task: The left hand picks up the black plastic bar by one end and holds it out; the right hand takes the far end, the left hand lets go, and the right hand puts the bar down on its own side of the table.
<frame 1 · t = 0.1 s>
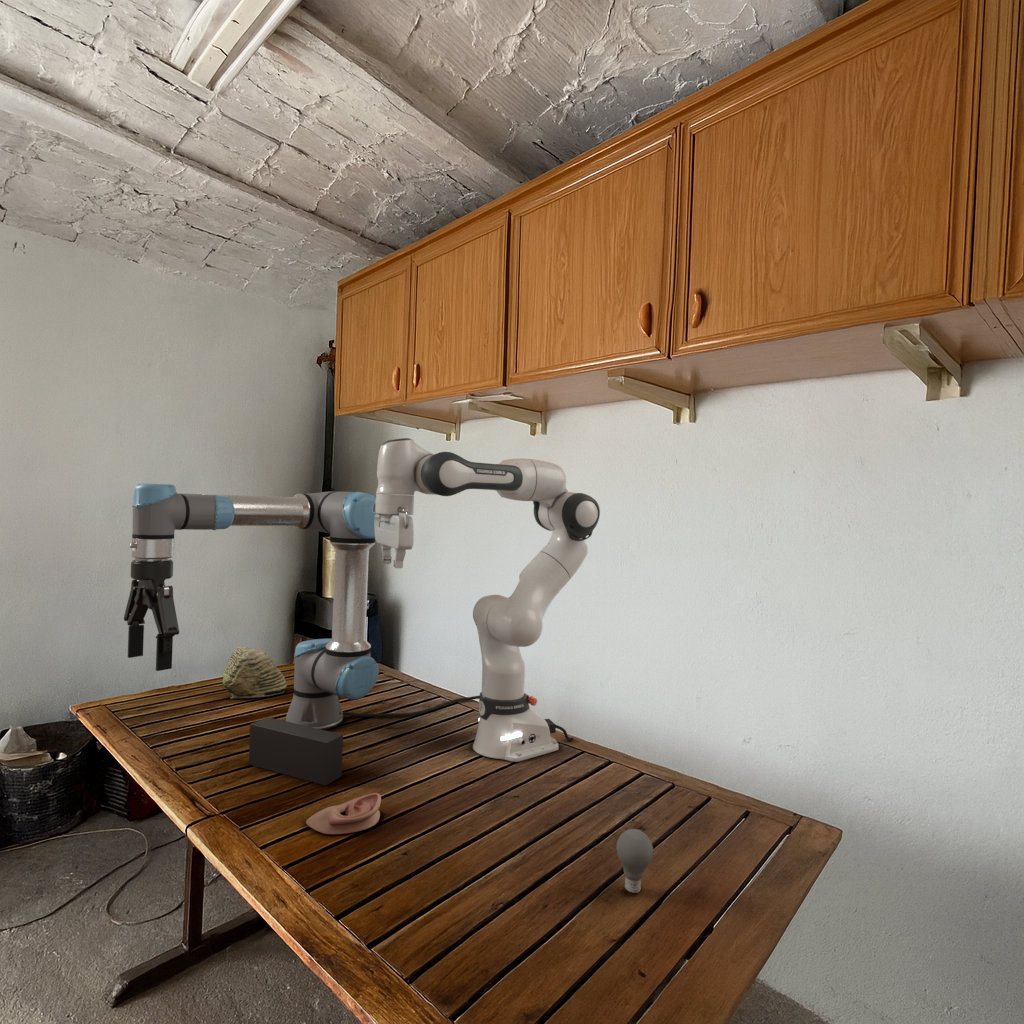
left hand: (149, 663, 129), 28 cm above the table, tool pointing down, fingers open, 13 cm apart
right hand: (392, 565, 149), 48 cm above the table, tool pointing down, fingers open, 8 cm apart
light bulb: (632, 891, 106), on the table
anatomical model: (344, 821, 124), on the table
fossil: (254, 694, 198), on the table
bar: (294, 770, 146), on the table
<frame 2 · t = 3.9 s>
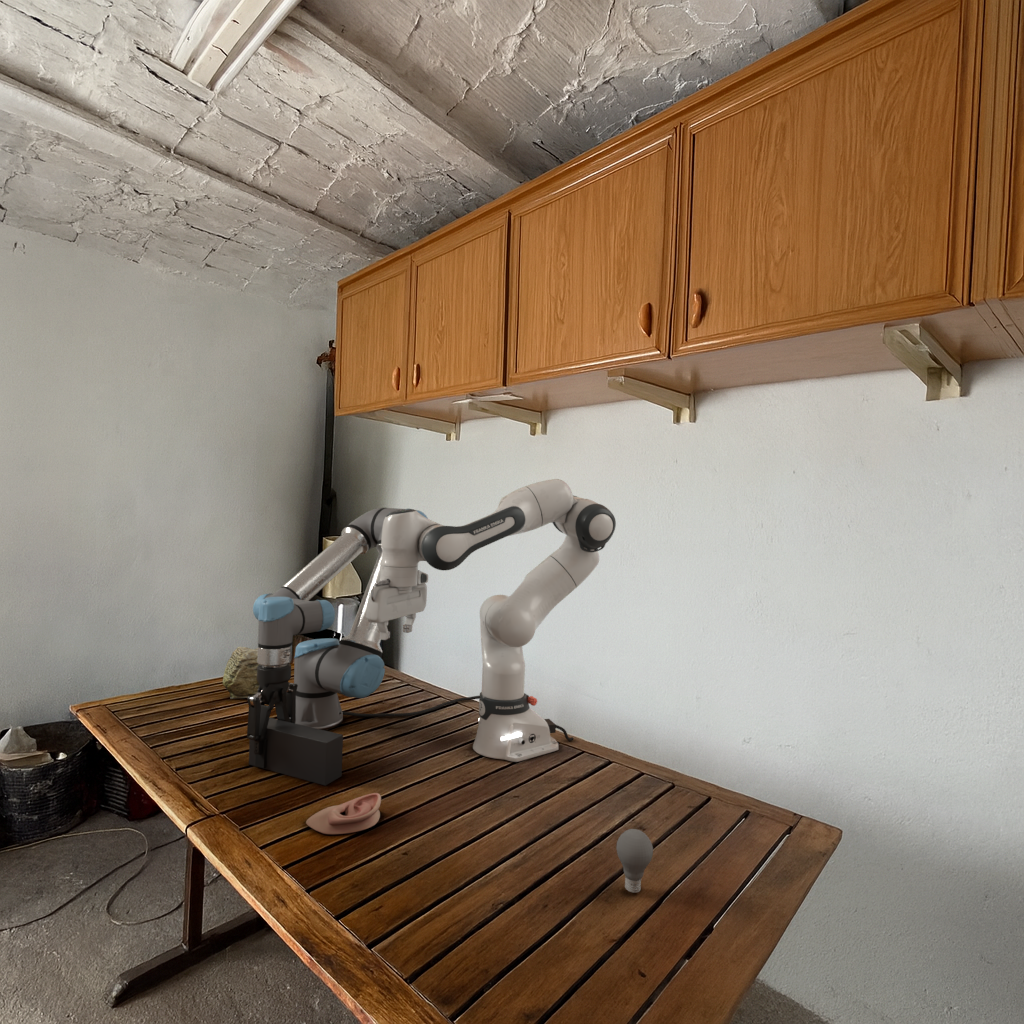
left hand: (270, 761, 149), 1 cm above the table, tool pointing down, fingers closed on bar, 5 cm apart
right hand: (396, 635, 150), 31 cm above the table, tool pointing down, fingers open, 8 cm apart
bar: (294, 770, 146), on the table, touching left hand
everything else where it was.
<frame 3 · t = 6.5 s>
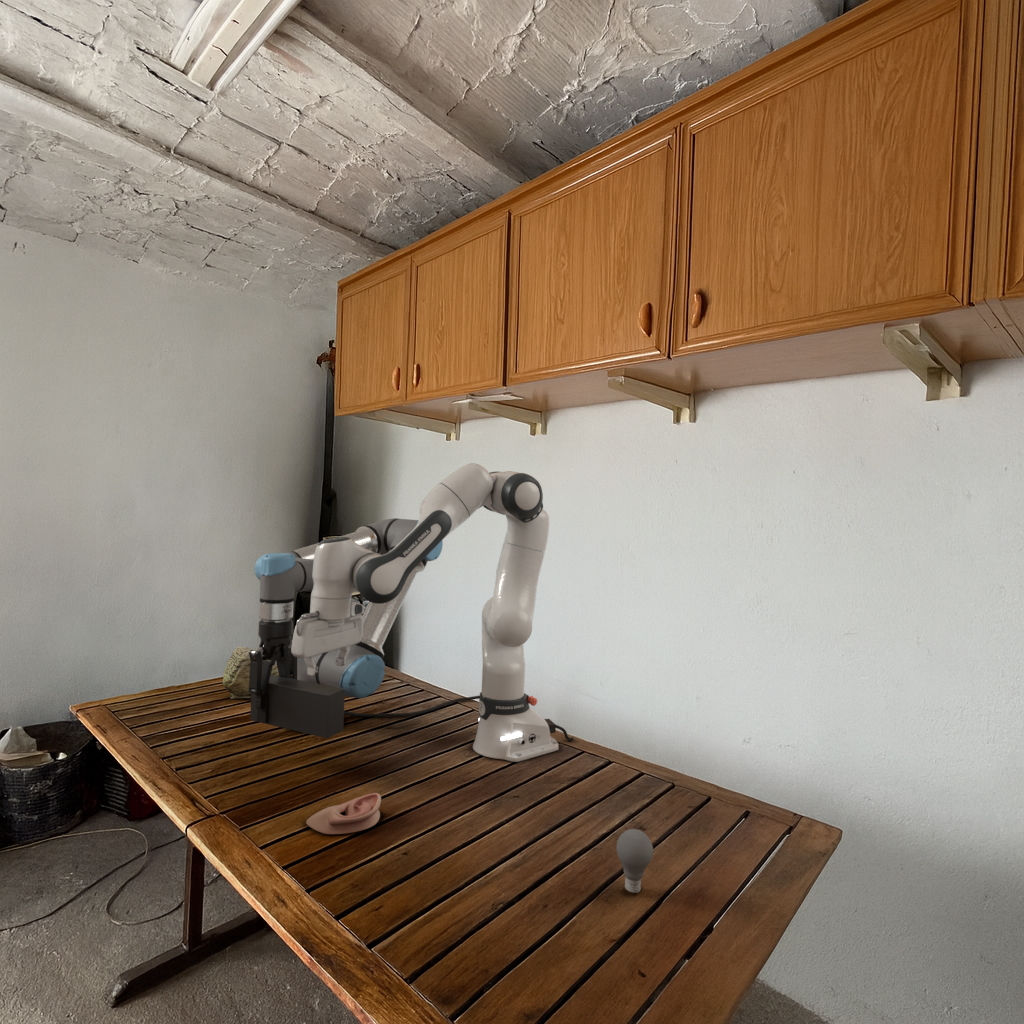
left hand: (272, 717, 149), 11 cm above the table, tool pointing down, fingers closed on bar, 5 cm apart
right hand: (326, 669, 143), 24 cm above the table, tool pointing down, fingers open, 8 cm apart
bar: (296, 725, 146), point 10 cm above the table, touching left hand
everything else where it was.
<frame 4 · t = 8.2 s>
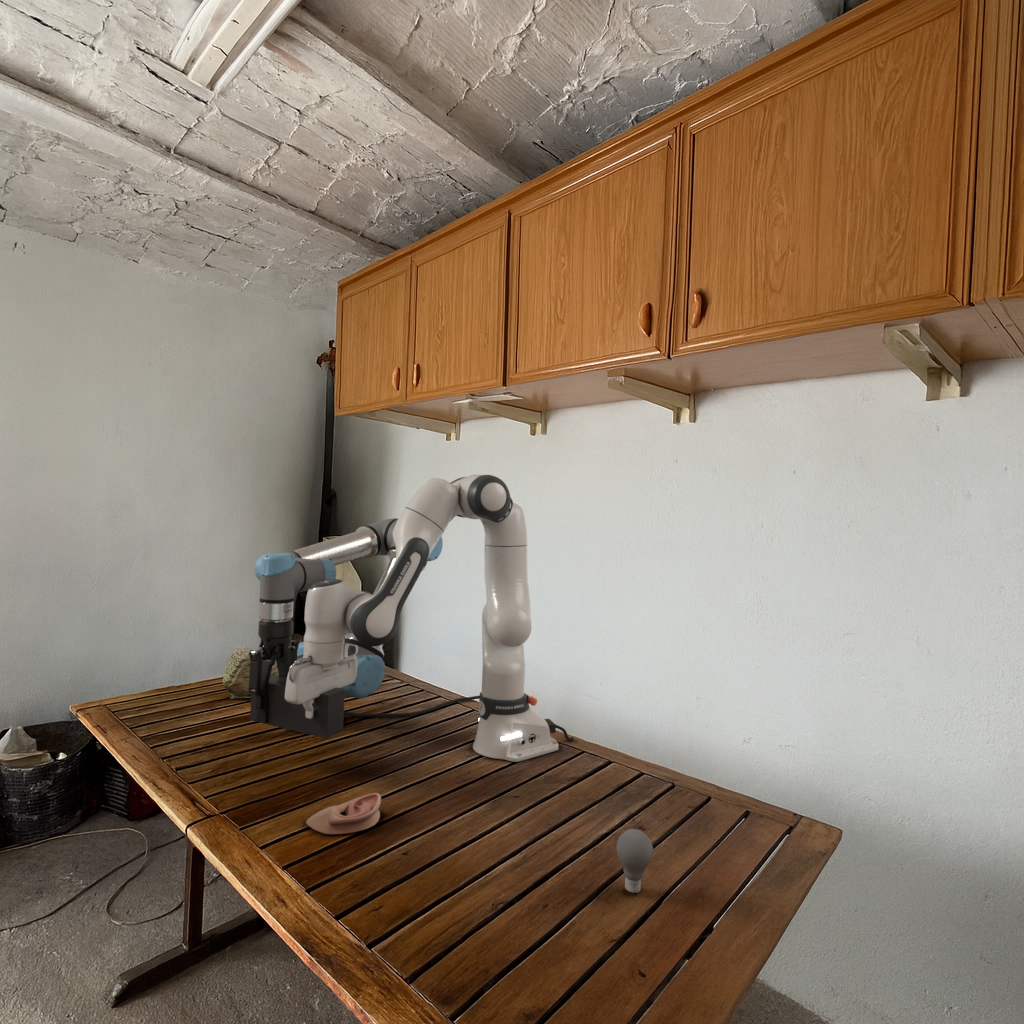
left hand: (272, 717, 149), 11 cm above the table, tool pointing down, fingers closed on bar, 5 cm apart
right hand: (321, 712, 143), 15 cm above the table, tool pointing down, fingers closed on bar, 5 cm apart
bar: (295, 725, 146), point 10 cm above the table, touching left hand, right hand
everything else where it was.
when the left hand's fingers open (11 cm above the table, at t = 9.2 s): bar stays where it is, held by the right hand.
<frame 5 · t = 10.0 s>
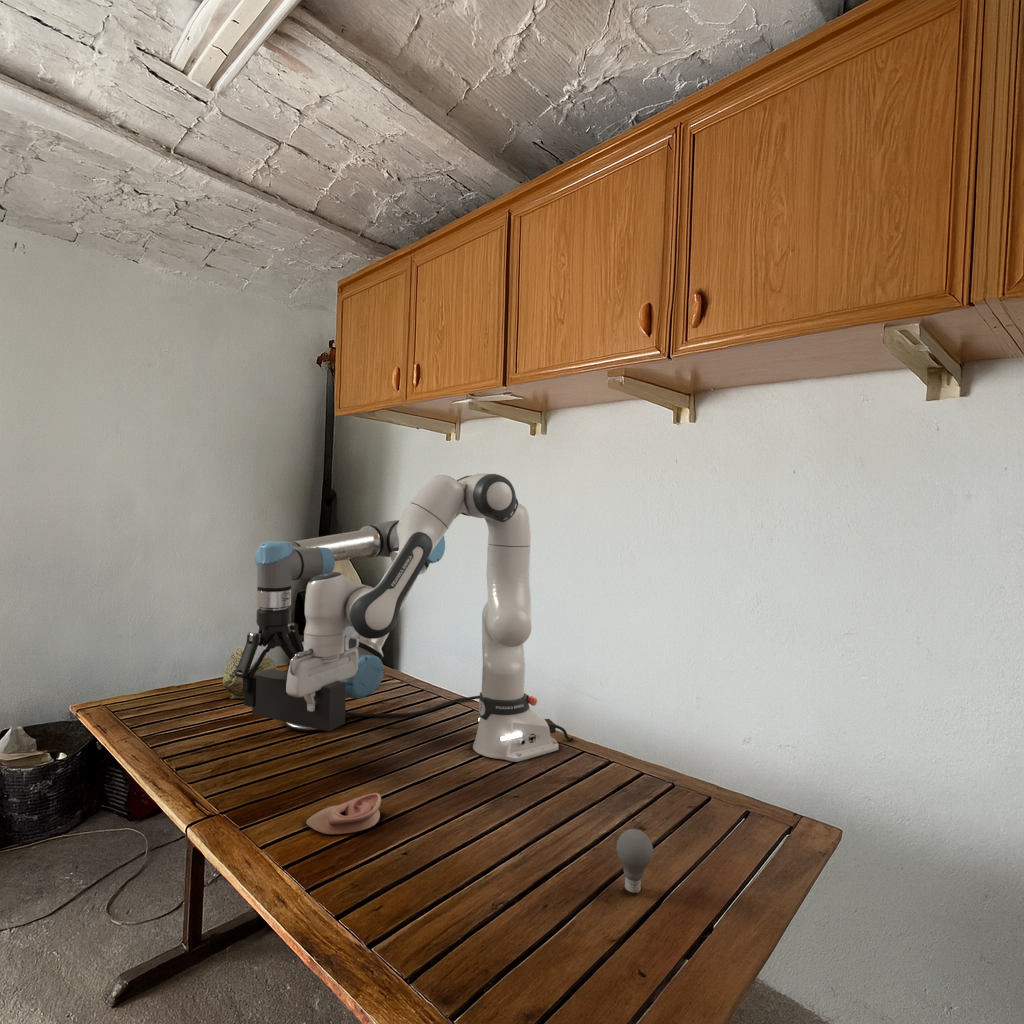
left hand: (272, 697, 149), 16 cm above the table, tool pointing down, fingers open, 13 cm apart
right hand: (323, 705, 143), 16 cm above the table, tool pointing down, fingers closed on bar, 5 cm apart
bar: (297, 719, 146), point 12 cm above the table, touching right hand
everything else where it was.
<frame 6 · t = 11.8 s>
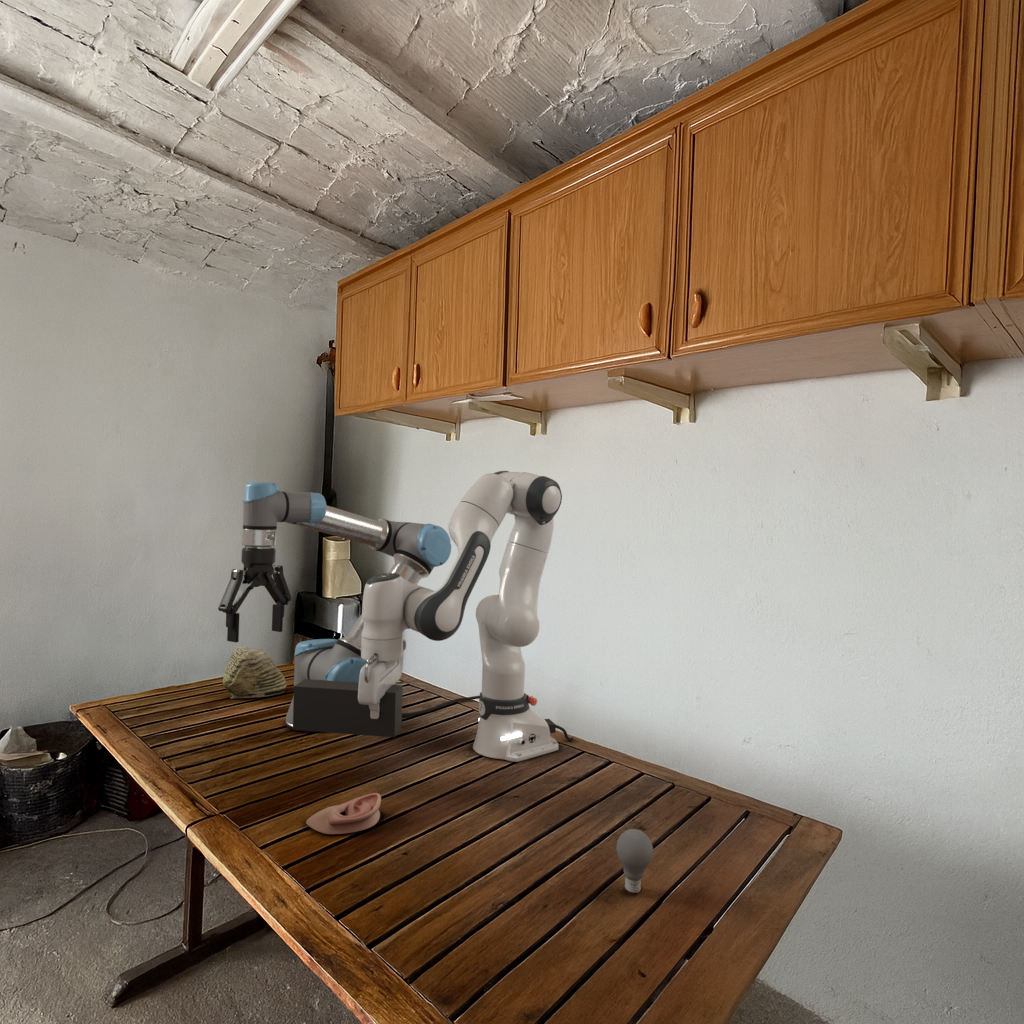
left hand: (255, 636, 151), 29 cm above the table, tool pointing down, fingers open, 13 cm apart
right hand: (380, 712, 137), 17 cm above the table, tool pointing down, fingers closed on bar, 5 cm apart
bar: (347, 729, 138), point 13 cm above the table, touching right hand
everything else where it was.
when the right hand's fingers open (5 cm above the table, at t = 15.7 s): bar stays where it is, resting on anatomical model.
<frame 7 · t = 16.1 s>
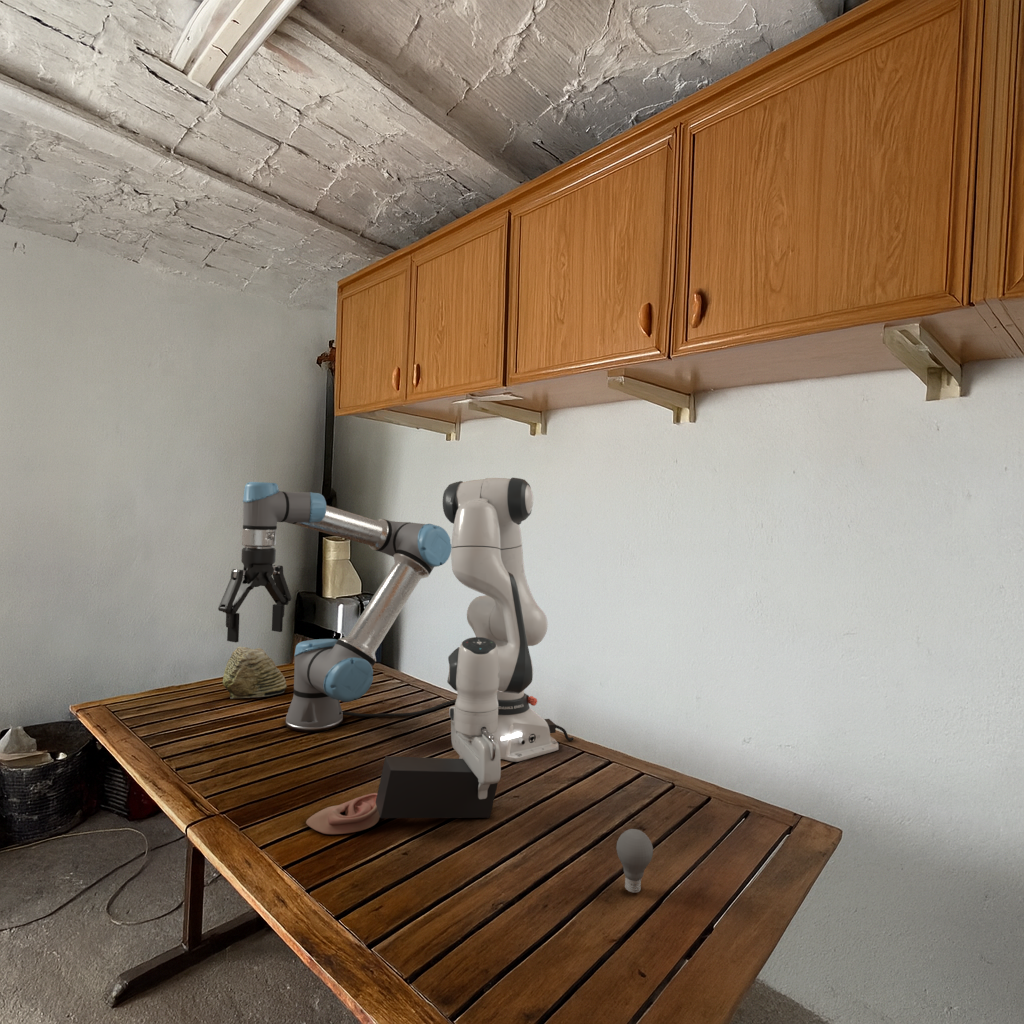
left hand: (255, 636, 151), 29 cm above the table, tool pointing down, fingers open, 13 cm apart
right hand: (473, 787, 129), 6 cm above the table, tool pointing down, fingers open, 8 cm apart
anatomical model: (344, 821, 124), on the table, touching bar
bar: (433, 810, 126), point 2 cm above the table, tilted 10°, touching anatomical model
everything else where it was.
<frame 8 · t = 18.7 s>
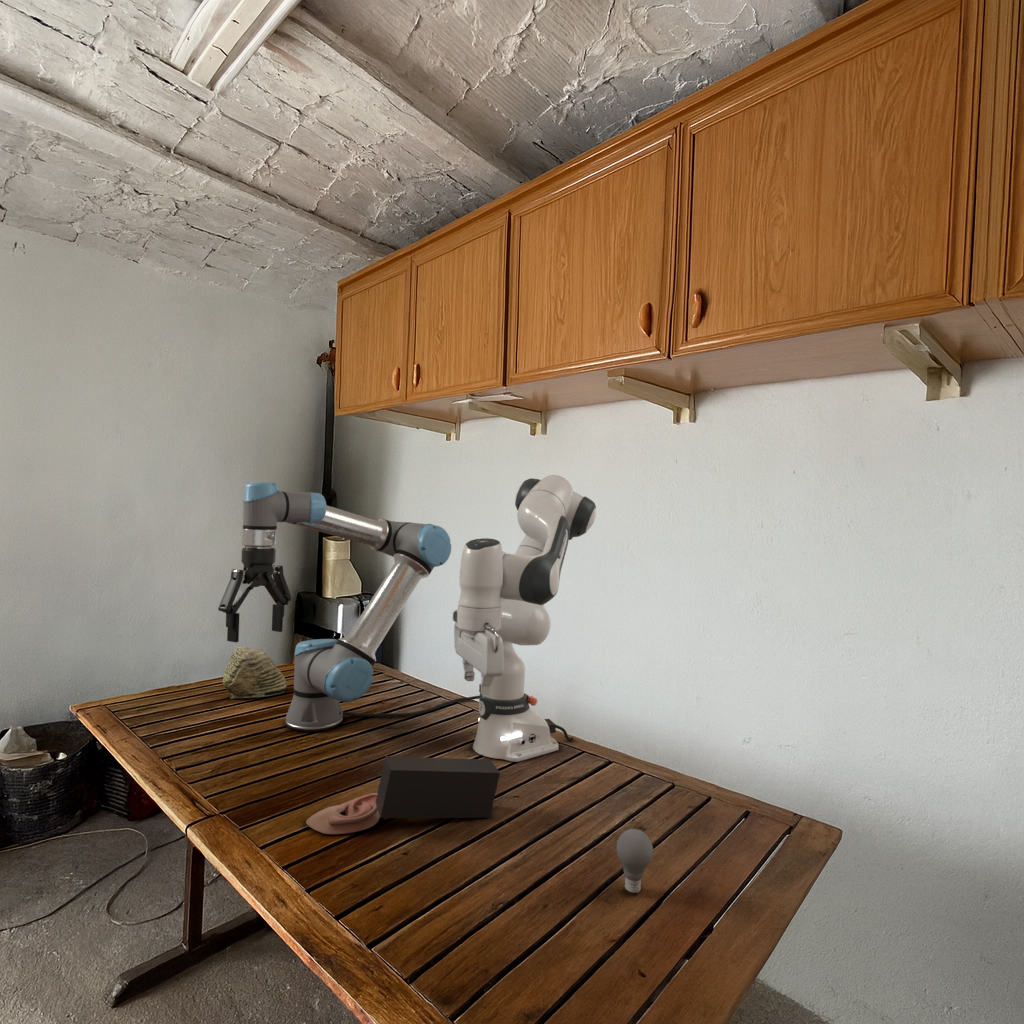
left hand: (255, 636, 151), 29 cm above the table, tool pointing down, fingers open, 13 cm apart
right hand: (476, 686, 129), 26 cm above the table, tool pointing down, fingers open, 8 cm apart
nothing on the table moved.
at the end: bar inside the target area (7.9 cm from its centre), point 1.9 cm above the table; the left hand is holding nothing; the right hand is holding nothing; bar at rest at the end (0.0 cm/s) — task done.
